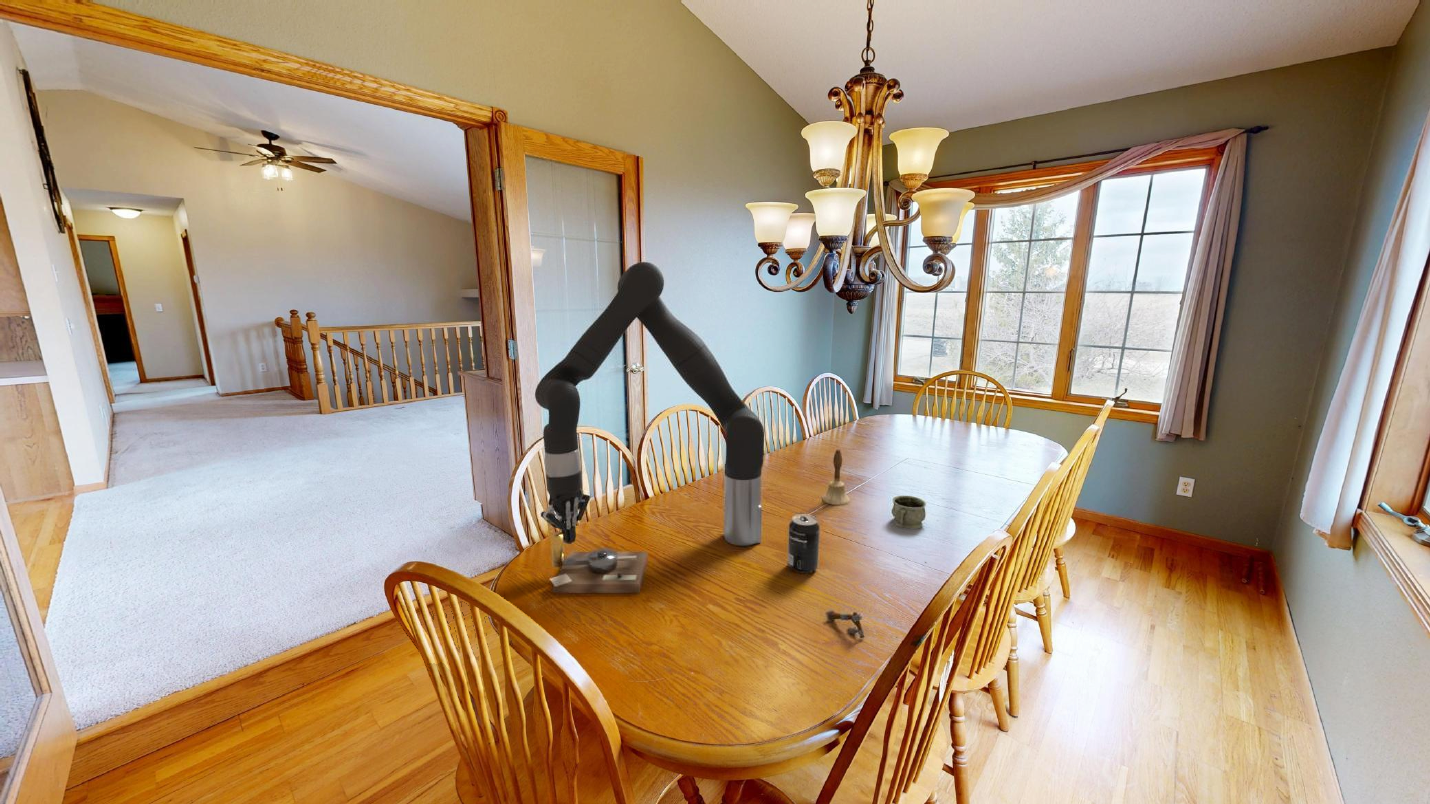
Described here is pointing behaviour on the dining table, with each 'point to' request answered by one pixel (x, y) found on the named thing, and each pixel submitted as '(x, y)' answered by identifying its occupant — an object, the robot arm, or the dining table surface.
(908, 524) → the vessel
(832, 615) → the brown grey angled piece
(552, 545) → the capstan
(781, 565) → the dining table surface
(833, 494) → the hand bell
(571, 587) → the stand
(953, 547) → the dining table surface
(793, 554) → the beverage can
